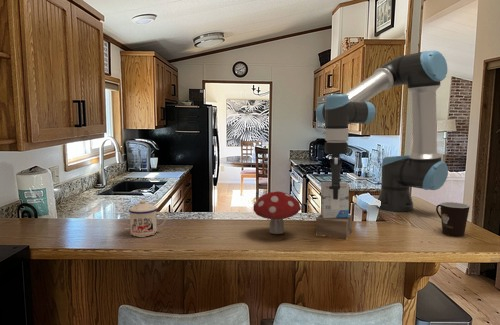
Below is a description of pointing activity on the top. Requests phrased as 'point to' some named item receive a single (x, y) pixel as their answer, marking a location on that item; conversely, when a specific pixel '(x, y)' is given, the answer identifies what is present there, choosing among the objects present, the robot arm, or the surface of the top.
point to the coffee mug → (453, 218)
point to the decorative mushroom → (276, 209)
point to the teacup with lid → (144, 218)
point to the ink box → (326, 201)
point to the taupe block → (334, 226)
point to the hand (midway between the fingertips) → (335, 204)
